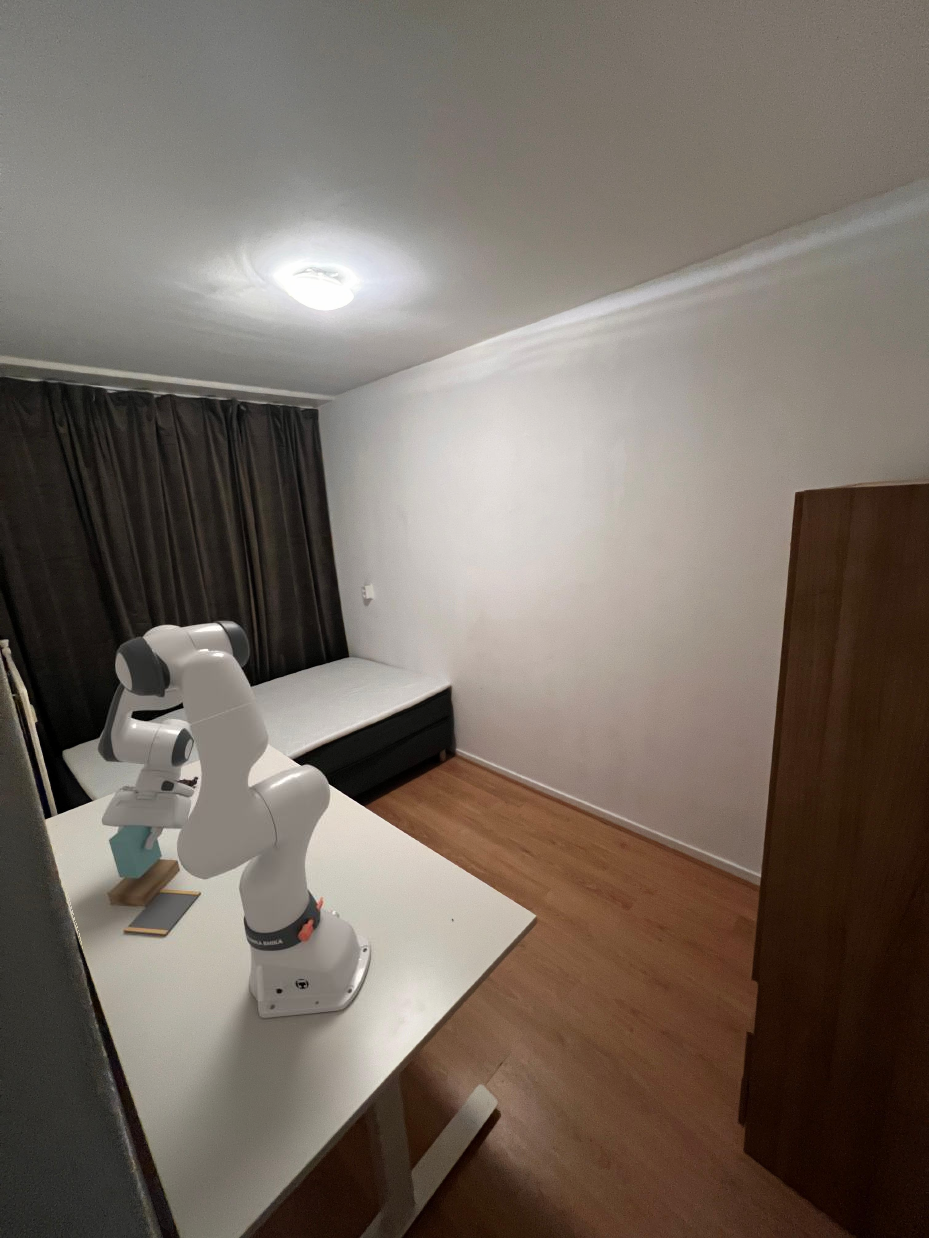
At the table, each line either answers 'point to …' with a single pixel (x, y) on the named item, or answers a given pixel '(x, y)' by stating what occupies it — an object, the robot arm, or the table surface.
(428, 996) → the table surface
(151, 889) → the block
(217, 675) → the robot arm
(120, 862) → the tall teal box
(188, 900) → the mat
